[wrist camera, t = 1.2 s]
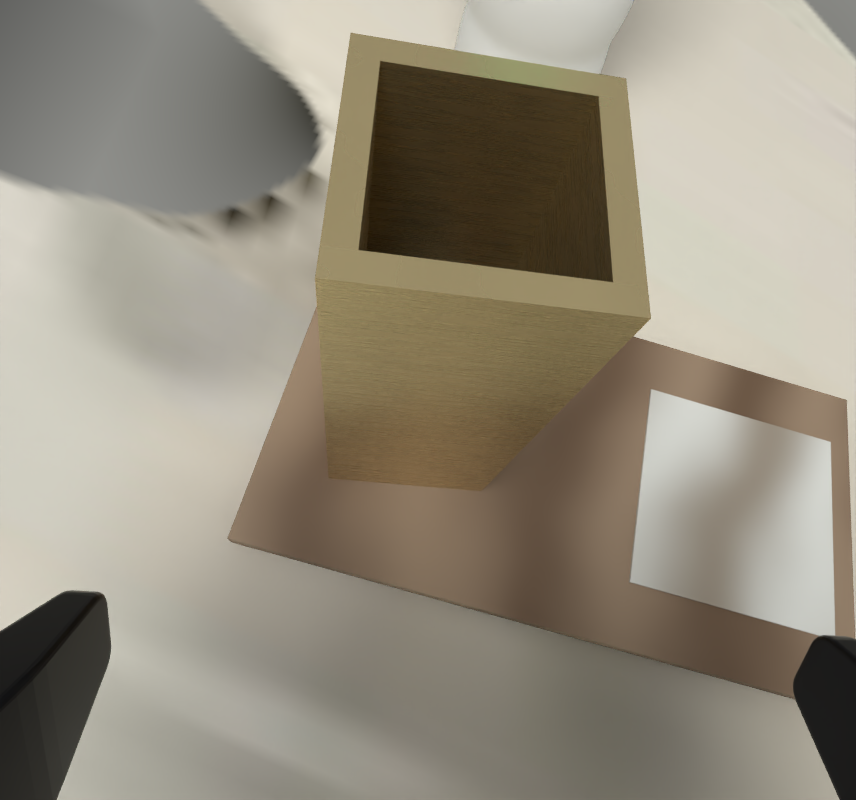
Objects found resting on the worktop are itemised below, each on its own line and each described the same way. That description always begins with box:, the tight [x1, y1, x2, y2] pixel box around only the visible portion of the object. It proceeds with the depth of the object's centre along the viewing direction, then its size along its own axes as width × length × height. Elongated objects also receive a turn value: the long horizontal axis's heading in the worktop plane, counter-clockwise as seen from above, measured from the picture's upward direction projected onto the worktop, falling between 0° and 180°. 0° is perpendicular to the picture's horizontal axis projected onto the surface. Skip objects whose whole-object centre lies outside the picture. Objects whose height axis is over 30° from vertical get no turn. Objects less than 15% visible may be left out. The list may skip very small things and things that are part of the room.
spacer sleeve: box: [315, 33, 651, 491], centre depth 16 cm, size 5×5×12 cm
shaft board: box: [227, 307, 855, 699], centre depth 21 cm, size 22×12×4 cm, turn 76°
